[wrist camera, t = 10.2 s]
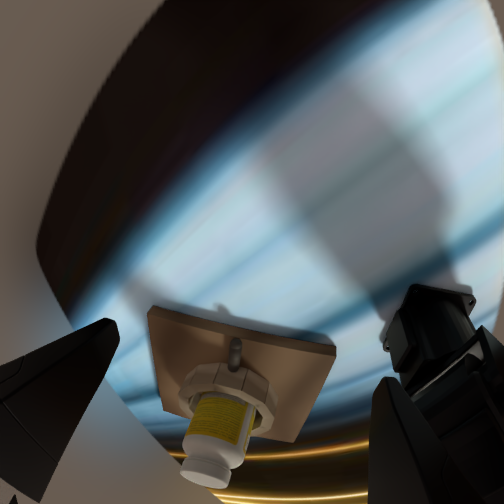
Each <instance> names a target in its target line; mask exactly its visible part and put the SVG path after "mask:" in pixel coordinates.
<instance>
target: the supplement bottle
mask: <svg viewBox="0 0 504 504" xmlns="http://www.w3.org/2000/svg"><path fill="white" fill-rule="evenodd" d="M256 411H257V408H256V407H255V406H254V405H252V404H250V403H248V402H246V401H245V400H243V399H241V398H239V397H238V396H234V395H230V394H226V393H222V392H218V391H205V392H203V393H202V395H201V398H200V400H199V403H198V405H197V408H196V410H195V413H194V415H193V417H192V420H191V422H190V425H189V427H188V430H187V432H186V434H185V437H184V440H183V449H184V451H185V453H186V454H187V455H188V456H189V457H188V458H186V459H185V461H184V462H183V465H182V467H181V470H180V474H181V475H182V476H183V477H184V478H186V479H188V480H190V481H192V482H194V483H196V484H199V485H202V486H206V487H211V488H219V489H220V488H226V487H227V486H228V483H229V480H230V476H231V471H230V469H233V468H236V467H238V466H240V465H241V464H242V462H243V460H244V457H245V454H246V450H247V446H248V442H249V438H250V435H251V431H252V427H253V423H254V419H255V415H256Z"/></svg>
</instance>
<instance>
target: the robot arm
mask: <svg viewBox="0 0 504 504" xmlns="http://www.w3.org/2000/svg"><path fill="white" fill-rule="evenodd" d="M415 290H417V292H415V293H413V291H415ZM471 300H472V301H471ZM470 301H471V302H470ZM469 302H470V303H469ZM475 304H476V299H475V297H474V296H473V295H470V294H465V293H460V292H455V291H450V290H445V289H440V288H435V287H430V286H425V285H420V284H413V285H412V286H410V288H409V290H408V292H407V294H406V296H405V299H404V301H403V303H402V305H401V308H399V309H398V310H397V312H396V314H395V316H394V318H393V320H392V323H391V325H390V327H389V329H388V331H387V333H386V336H387V337H386V339H385V341H384V343H383V350H384V351H385V352H390V355H391V360H392V365H393V370H394V371H395V372H396V373H399V375H400V381H401V384H400V383H399V381H398V380H397V379H396V378H395V377H383V378H382V379H381V381H380V383H379V384H378V386H377V387H376V389H375V391H374V393H373V397H372V409H371V421H370V431H369V482H368V503H367V504H504V346H503V345H502V344H501V343H500V342H499V341H498V340H497V339H496V338H495V337H494V336H493V335H492V334H491V333H490V332H489V331H488V330H487V329H486V328H485V327H484V326H483V325H481V326H480V327H479V328H478V329H477V330H476V329H475V328H474V326H473V324H472V322H471V320H470V318H469V315H470V313H471V311H472V309H473V308H474V306H475ZM119 342H120V336H119V332H118V328H117V324H116V322H115V321H114V320H112V319H109V318H103V319H100V320H98V321H96V322H94V323H92V324H90V325H88V326H85V327H83V328H81V329H79V330H77V331H75V332H73V333H70V334H68V335H66V336H64V337H62V338H60V339H58V340H56V341H54V342H51V343H49V344H47V345H45V346H43V347H41V348H38V349H36V350H34V351H32V352H30V353H28V354H26V355H25V356H21V357H19V358H17V359H15V360H13V361H10V362H8V363H6V364H3V365H1V366H0V504H18V503H17V499H16V495H15V492H16V490H18V491H20V492H21V493H23V494H24V495H26V496H28V497H29V498H31V499H33V500H34V501H36V502H38V503H40V501H41V499H42V497H43V494H44V492H45V490H46V488H47V486H48V484H49V482H50V480H51V477H52V475H53V473H54V471H55V469H56V467H57V465H58V462H59V461H60V458H61V456H62V455H63V453H64V451H65V448H66V446H67V445H68V443H69V441H70V439H71V437H72V435H73V433H74V431H75V429H76V427H77V425H78V424H79V421H80V420H81V418H82V416H83V414H84V412H85V411H86V409H87V407H88V405H89V403H90V401H91V400H92V398H93V396H94V394H95V392H96V391H97V389H98V387H99V385H100V384H101V382H102V380H103V378H104V376H105V374H106V372H107V370H108V367H109V365H110V363H111V360H112V358H113V356H114V354H115V352H116V349H117V347H118V345H119ZM387 346H389V347H387Z"/></svg>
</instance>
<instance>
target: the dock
mask: <svg viewBox="0 0 504 504" xmlns="http://www.w3.org/2000/svg"><path fill="white" fill-rule="evenodd" d="M147 318H148V326H149V333H150V340H151V346H152V353H153V359H154V365H155V370H156V376H157V381H158V386H159V392H160V396H161V401H162V406H163V410H164V411H166V412H169V413H172V414H175V415H178V416H181V417H184V418H188V419H191V420H192V417H193V415H194V413H195V410H196V408H197V405H198V403H199V400H200V398H201V395H202V393H203V392H205V391H218V392H222V393H226V394H230V395H234V396H238V397H239V398H241V399H243V400H245V401H246V402H248V403H250V404H252V405H254V406H255V407H256V408H257V411H256V415H255V419H254V423H253V427H252V431H251V435H250V437H251V436H258V437H263V438H268V439H274V440H280V441H286V442H292V443H293V442H294V440H295V439H296V437H297V435H298V433H299V431H300V430H301V428H302V426H303V424H304V422H305V420H306V418H307V417H308V415H309V413H310V411H311V409H312V407H313V405H314V403H315V401H316V399H317V397H318V395H319V393H320V391H321V389H322V387H323V385H324V383H325V380H326V378H327V376H328V374H329V372H330V370H331V368H332V365H333V363H334V361H335V359H336V346H330V345H324V344H318V343H313V342H307V341H302V340H296V339H291V338H286V337H281V336H276V335H271V334H266V333H261V332H257V331H252V330H247V329H243V328H239V327H234V326H230V325H226V324H221V323H217V322H213V321H209V320H205V319H201V318H197V317H193V316H190V315H186V314H182V313H178V312H175V311H171V310H167V309H164V308H160V307H157V306H152V307H151V309H150V310H149V311H148V313H147Z"/></svg>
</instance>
